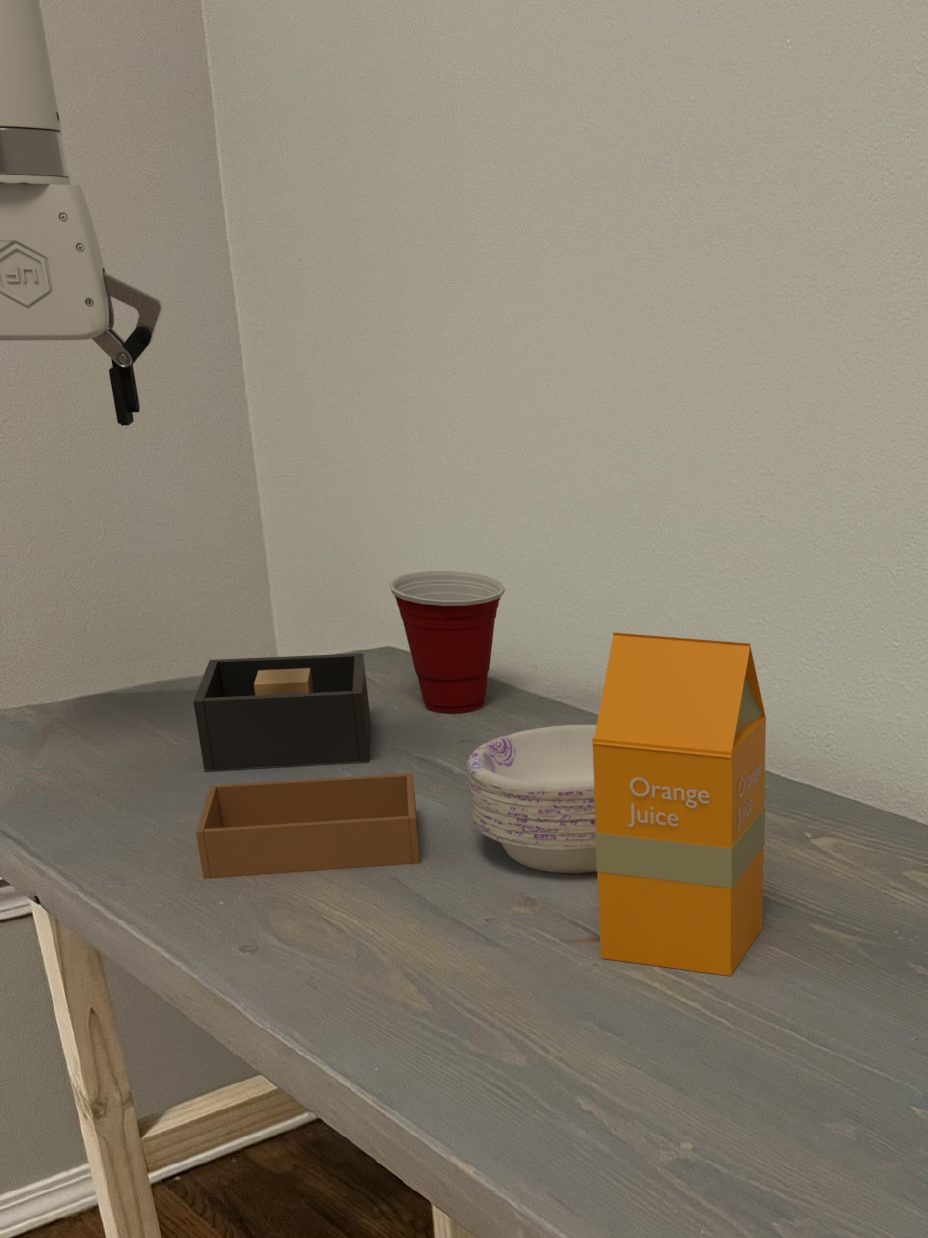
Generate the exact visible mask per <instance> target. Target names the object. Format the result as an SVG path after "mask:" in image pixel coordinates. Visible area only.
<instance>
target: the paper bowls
mask: <svg viewBox="0 0 928 1238" xmlns="http://www.w3.org/2000/svg"><path fill="white" fill-rule="evenodd" d="M596 725H597V724H565V725H564V724H563V725H552V726H545V727H538V728H532V729H526V730H521V731H517V732H512V733H508V734H505V735H502V736H499V737H496V738H493V739H491V740H489V741H487V742H485V743H483V744H481V745H479V746H478V747H476V748H475V749H474V750H473V752H471V754H470V755H469V756H468V759H467V761H466V769H467V779H468V780H467V782H468V784H467V785H468V793H469V801H470V803H469V804H470V806H469V807H470V809H471V810H470V811H471V817H472V821H473V825H474V827H475V829H476V830H478V832H480V833H481V834H482V835H483V836H486V837H487V838H490V839H492V840H493V841H496V842H499V843H501V845H502V847H503V848H504V850H505V851H506V854H508V856H509V857H510V858H511V859H512V860H514V861H515V862H517V863H518V864H520V865H522V866H524V867H527V868H530V869H533V870H538V871H542V872H549V873H559V874H585V873H595V872H596V873H597V871H596V845H595V833H596V822H595V795H594V769H593V743H592V738H594V736H595V731H596Z"/></svg>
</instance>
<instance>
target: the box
mask: <svg viewBox="0 0 928 1238" xmlns="http://www.w3.org/2000/svg"><path fill="white" fill-rule="evenodd" d="M415 792H416V791H415V782H414V774H413V773H412V772H411V773H396V774H395V773H394V774H378V775H361V776H360V775H359V776H345V777H327V778H310V779H308V778H307V779H294V780H275V781H274V780H273V781H259V782H244V783H243V782H242V783H241V782H240V783H225V784H223V783H222V784H210V785H209V787H208V790H207V793H206V798H205V800H204V804H203V807H202V811H201V814H200V818H199V821H198V823H197V828H196V830H195V836H196V841H197V847H198V853H199V860H200V865H201V871H202V878H203V879H204V880H210V879H221V878H222V879H223V878H236V877H237V878H238V877H252V876H253V877H254V876H265V875H266V876H267V875H279V874H281V875H282V874H293V873H295V874H296V873H306V872H307V873H309V872H321V871H335V870H348V869H349V870H350V869H363V868H378V867H379V868H380V867H392V866H394V867H395V866H407V865H420V864H421V861H420V859H421V858H420V846H419V845H420V844H419V830H418V815H417V814H418V813H417V802H416V794H415Z"/></svg>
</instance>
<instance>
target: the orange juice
mask: <svg viewBox="0 0 928 1238" xmlns="http://www.w3.org/2000/svg"><path fill="white" fill-rule="evenodd" d="M611 639H612V640H611V645H610V651H609V655H608V661H607V667H606V671H605V677H604V683H603V689H602V693H601V699H600V705H599V710H598V715H597V720H596V724H595V725H596V731H595V736H594V738H592V743H593V769H594V795H595V822H596V833H595V845H596V873H597V895H598V896H597V897H598V899H597V900H598V922H599V925H598V926H599V950H600V959H605V960H611V961H617V962H618V961H619V962H626V963H633V964H640V965H649V966H654V967H655V966H656V967H661V968H668V969H669V968H670V969H675V970H677V969H678V970H683V971H690V972H698V973H704V974H705V973H706V974H713V975H719V976H727V977H731V976H732V974H733V973H734V972H735V970H736V969H737V967H738V966H739V965H740V962H741V961H742V960H743V958H744V956H745V955H746V953H747V952H748V950H749V949H750V947H752V944H753V943H754V941H755V940H756V938H757V937H758V936H759V934H760V932H761V931H762V929H763V913H764V912H763V911H764V910H763V909H764V908H763V907H764V854H765V853H764V848H765V837H766V836H765V835H766V834H765V833H766V831H765V830H766V807H765V799H766V798H765V796H766V795H765V793H766V792H765V789H766V739H767V737H766V735H767V733H766V731H767V730H766V729H767V716H766V713H765V712H766V711H765V707H764V704H763V703H764V702H763V699H762V693H761V689H760V683H759V679H758V674H757V670H756V666H755V660H754V656H753V651H752V646H751V643H750V642H749V643H748V642H735V641H723V640H711V639H701V638H700V639H699V638H698V639H697V638H687V637H675V636H674V637H673V636H659V635H650V634H649V635H648V634H638V633H637V634H636V633H623V632H612V638H611Z"/></svg>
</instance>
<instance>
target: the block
mask: <svg viewBox="0 0 928 1238" xmlns="http://www.w3.org/2000/svg"><path fill="white" fill-rule="evenodd" d="M254 688H255V695H256V696H258V695H279V694H300V693H313V686H312V678H311V670H310V668H303V669H280V670H259V671H258V673H257V676H256V679H255V683H254Z"/></svg>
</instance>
